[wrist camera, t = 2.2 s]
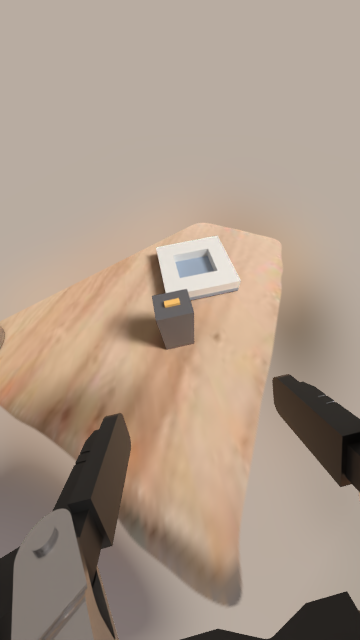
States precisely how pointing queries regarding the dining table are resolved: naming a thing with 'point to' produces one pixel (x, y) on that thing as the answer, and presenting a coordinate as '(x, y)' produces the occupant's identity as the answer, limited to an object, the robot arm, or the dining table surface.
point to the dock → (197, 268)
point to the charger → (174, 318)
